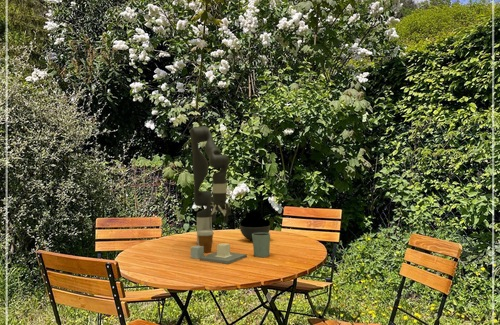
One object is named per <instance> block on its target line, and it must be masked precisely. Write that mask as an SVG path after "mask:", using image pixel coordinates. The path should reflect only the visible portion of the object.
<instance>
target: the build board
mask: <svg viewBox="0 0 500 325" xmlns="http://www.w3.org/2000/svg"><path fill="white" fill-rule="evenodd" d="M247 255H248V254H246V253H238V252H231V251H230V255H229V256H227V257H220V256H217V251H214V252H213V253H212V252H211V253H209V254H206V255H204V256H203V257H200V259H199V261H204V262H209V263H216V264H225V265H229V264H232V263H235V262H238V261H241V260H243V259H246V258H248V256H247Z"/></svg>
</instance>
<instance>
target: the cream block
mask: <svg viewBox="0 0 500 325" xmlns="http://www.w3.org/2000/svg"><path fill="white" fill-rule="evenodd" d="M216 252H217V256H220V257H227V256H229V255H230V252H231V243H226V242H225V243H223V242H221V243H219V244H217V245H216Z"/></svg>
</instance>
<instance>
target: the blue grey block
mask: <svg viewBox="0 0 500 325" xmlns="http://www.w3.org/2000/svg"><path fill="white" fill-rule="evenodd" d="M204 254H205V253H204V246H199V245H193V246H190V259H194V260H195V259H196V260H200V257H203V256H205V255H204Z"/></svg>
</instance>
